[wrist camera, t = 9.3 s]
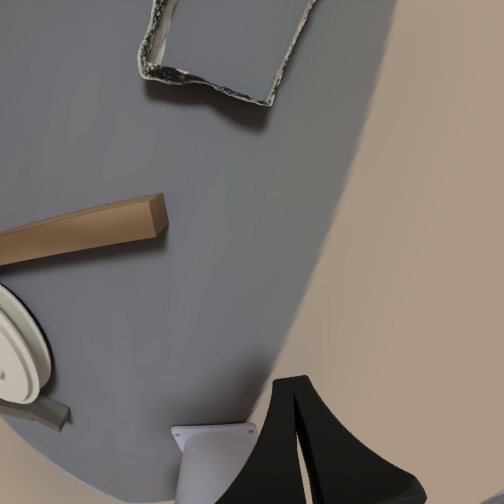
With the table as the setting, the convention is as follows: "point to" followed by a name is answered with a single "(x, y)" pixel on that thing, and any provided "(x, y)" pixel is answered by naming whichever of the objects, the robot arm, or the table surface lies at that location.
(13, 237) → the u-shaped bar frame
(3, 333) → the lid
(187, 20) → the table surface
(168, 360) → the table surface
